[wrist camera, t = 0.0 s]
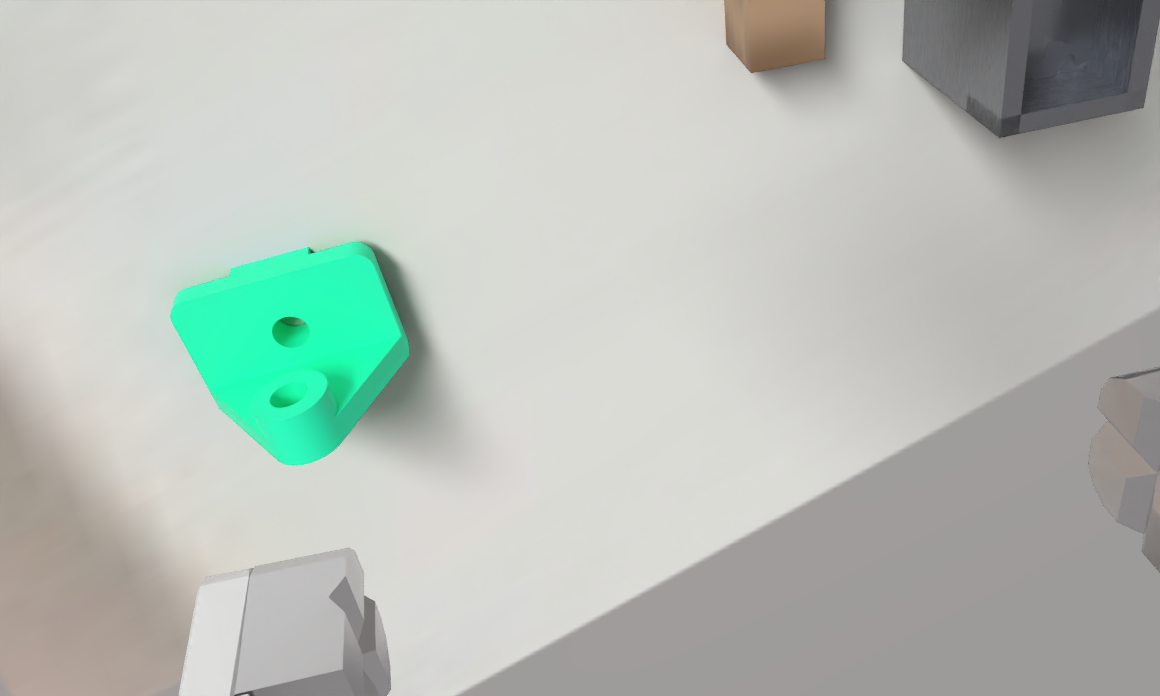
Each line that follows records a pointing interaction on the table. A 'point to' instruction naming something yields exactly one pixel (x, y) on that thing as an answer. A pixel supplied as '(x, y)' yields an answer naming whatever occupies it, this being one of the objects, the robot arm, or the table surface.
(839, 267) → the table surface
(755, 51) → the rail
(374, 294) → the camera mount
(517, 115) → the table surface
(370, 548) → the table surface
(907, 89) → the table surface
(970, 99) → the cup bracket
